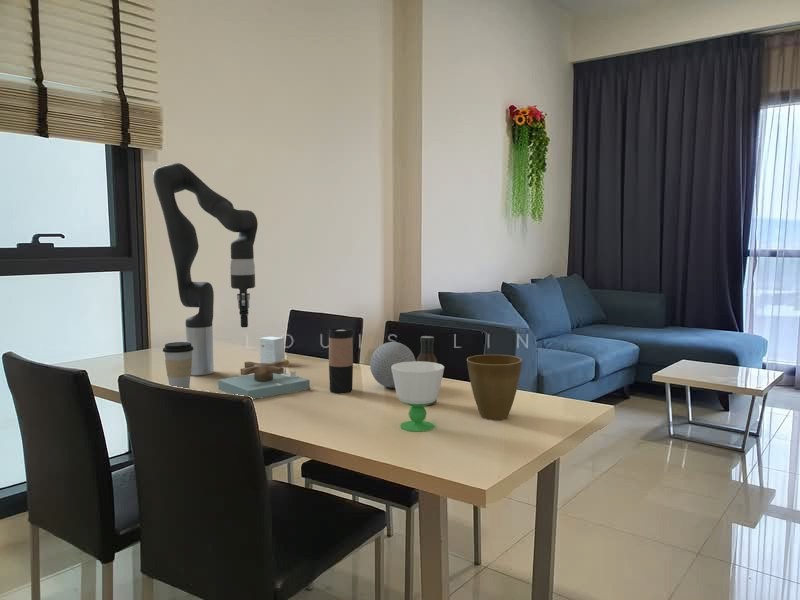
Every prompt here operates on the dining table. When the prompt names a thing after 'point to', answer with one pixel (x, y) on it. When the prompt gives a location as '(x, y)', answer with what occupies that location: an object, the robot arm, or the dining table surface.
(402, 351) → the decorative ball
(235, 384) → the stand
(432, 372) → the cup
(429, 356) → the sauce bottle
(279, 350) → the small box
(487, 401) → the plant pot
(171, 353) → the coffee cup
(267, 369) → the capstan
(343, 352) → the travel mug
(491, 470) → the dining table surface
